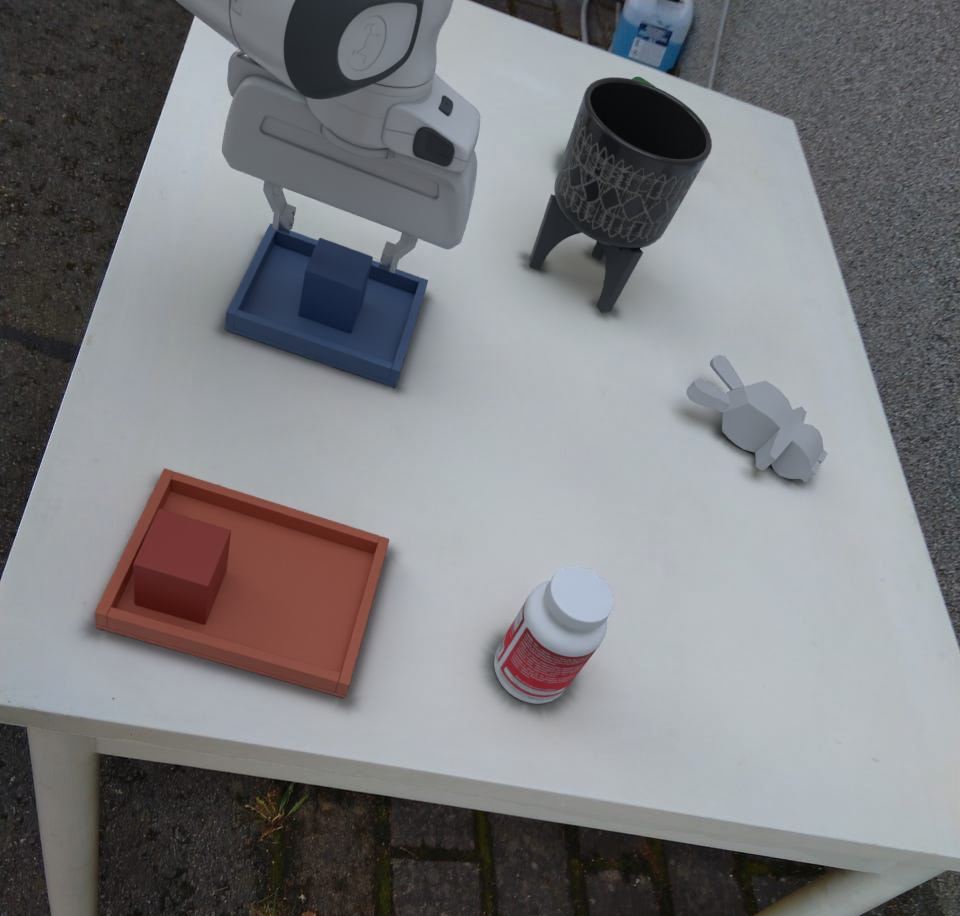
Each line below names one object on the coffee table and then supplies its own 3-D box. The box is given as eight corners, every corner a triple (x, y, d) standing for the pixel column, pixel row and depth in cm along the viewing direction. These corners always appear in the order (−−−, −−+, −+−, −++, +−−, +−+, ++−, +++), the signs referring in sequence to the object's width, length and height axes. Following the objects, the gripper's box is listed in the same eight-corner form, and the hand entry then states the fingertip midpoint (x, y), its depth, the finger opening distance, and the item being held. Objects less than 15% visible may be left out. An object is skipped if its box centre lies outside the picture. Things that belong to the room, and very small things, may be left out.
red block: (134, 605, 65) (132, 563, 61) (158, 550, 68) (159, 507, 64) (205, 625, 66) (208, 586, 62) (226, 570, 68) (231, 529, 64)
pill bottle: (575, 703, 72) (635, 630, 63) (502, 709, 70) (553, 634, 61) (555, 634, 75) (610, 555, 66) (484, 638, 73) (530, 556, 64)
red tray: (95, 627, 64) (94, 612, 62) (163, 484, 71) (164, 467, 70) (344, 698, 66) (349, 685, 65) (384, 553, 74) (389, 538, 72)
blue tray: (224, 329, 82) (225, 311, 80) (267, 240, 89) (270, 222, 88) (395, 388, 84) (400, 371, 82) (423, 296, 92) (428, 279, 90)
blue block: (297, 315, 84) (305, 270, 80) (311, 282, 87) (319, 236, 83) (351, 334, 85) (361, 289, 81) (363, 300, 88) (373, 256, 84)
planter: (554, 220, 105) (618, 61, 90) (651, 281, 104) (731, 130, 90) (501, 269, 97) (561, 104, 83) (605, 336, 97) (684, 180, 82)
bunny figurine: (818, 479, 88) (697, 376, 88) (783, 509, 92) (668, 411, 92) (847, 429, 94) (734, 332, 94) (813, 459, 98) (704, 367, 98)
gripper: (217, 55, 66) (205, 224, 77) (488, 162, 70) (439, 310, 81) (243, 17, 70) (228, 184, 81) (499, 121, 73) (451, 267, 84)
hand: (335, 247), depth 81 cm, fingers open, 8 cm apart
